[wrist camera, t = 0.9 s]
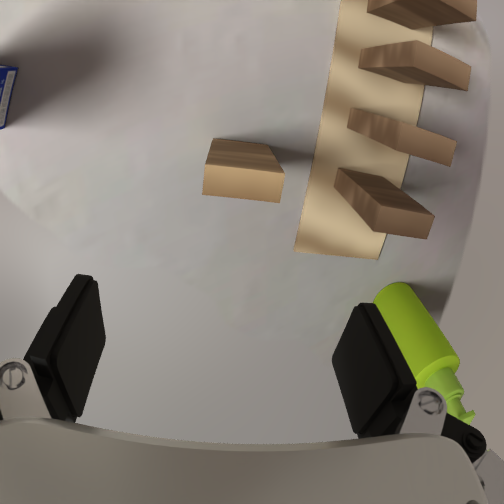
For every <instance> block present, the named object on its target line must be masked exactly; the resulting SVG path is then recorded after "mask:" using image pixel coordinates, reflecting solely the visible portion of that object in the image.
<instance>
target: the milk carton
mask: <svg viewBox="0 0 504 504" xmlns="http://www.w3.org/2000/svg"><path fill="white" fill-rule="evenodd" d="M17 70H18V67H12V66H5V65H0V129H3V128H5V123H6V118H7V113H8V108H9V103H10V98H11V94H12V90H13V85H14V81H15V78H16V74H17Z"/></svg>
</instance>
